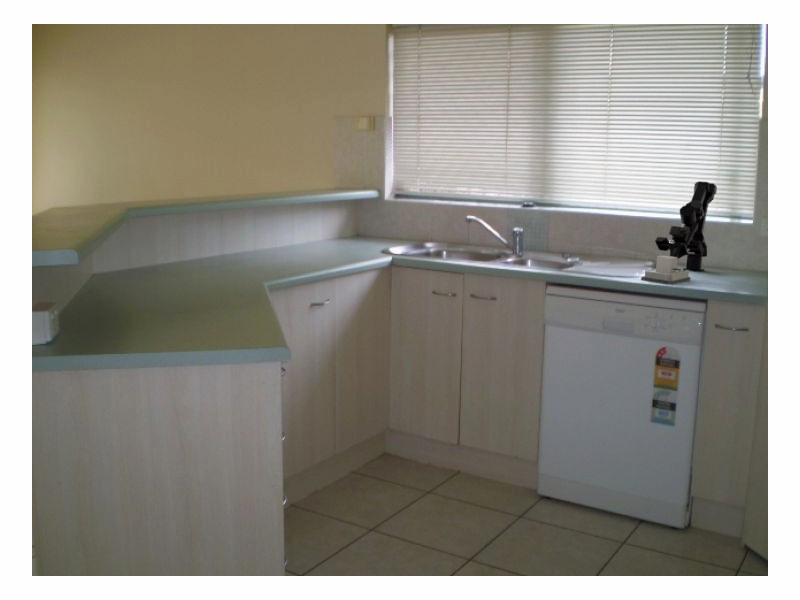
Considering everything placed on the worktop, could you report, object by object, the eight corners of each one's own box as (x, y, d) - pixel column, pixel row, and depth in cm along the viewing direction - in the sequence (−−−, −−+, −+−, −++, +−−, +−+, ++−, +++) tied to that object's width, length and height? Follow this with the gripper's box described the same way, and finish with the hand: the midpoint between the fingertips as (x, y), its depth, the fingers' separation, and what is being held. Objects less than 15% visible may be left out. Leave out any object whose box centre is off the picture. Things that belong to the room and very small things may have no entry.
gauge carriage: (662, 274, 352) (663, 255, 351) (683, 277, 346) (684, 258, 345) (655, 275, 349) (657, 256, 347) (676, 278, 343) (678, 259, 341)
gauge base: (660, 275, 358) (660, 265, 358) (690, 280, 350) (691, 269, 349) (641, 279, 348) (641, 269, 348) (671, 284, 339) (672, 273, 339)
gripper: (659, 216, 356) (642, 246, 351) (703, 220, 343) (687, 251, 338) (667, 234, 363) (651, 264, 358) (710, 239, 350) (695, 270, 345)
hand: (670, 262), depth 349 cm, fingers closed, pressing on gauge carriage
